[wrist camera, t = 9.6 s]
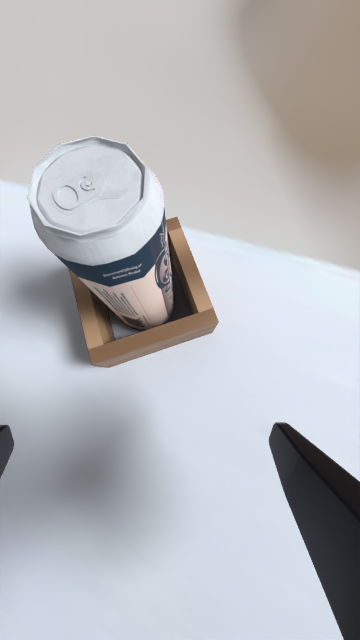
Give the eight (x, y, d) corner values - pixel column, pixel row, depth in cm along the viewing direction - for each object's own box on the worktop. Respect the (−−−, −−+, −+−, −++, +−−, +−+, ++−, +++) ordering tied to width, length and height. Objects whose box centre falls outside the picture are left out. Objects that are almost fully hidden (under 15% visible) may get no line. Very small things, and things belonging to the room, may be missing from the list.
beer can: (186, 309, 19) (191, 195, 7) (137, 343, 18) (56, 277, 7) (154, 266, 20) (112, 106, 8) (106, 296, 19) (-11, 169, 8)
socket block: (212, 332, 18) (218, 321, 15) (109, 367, 18) (91, 364, 14) (178, 243, 20) (177, 216, 17) (85, 272, 20) (64, 250, 16)
